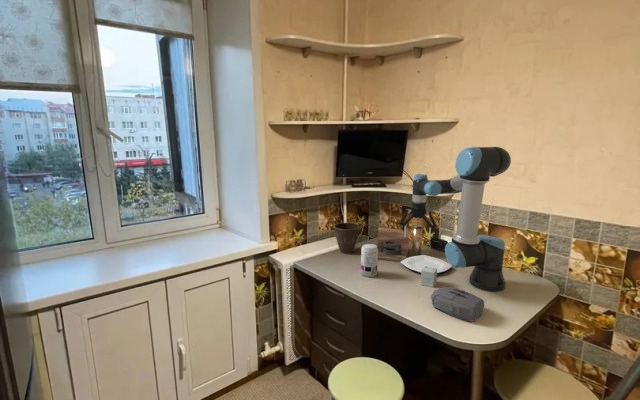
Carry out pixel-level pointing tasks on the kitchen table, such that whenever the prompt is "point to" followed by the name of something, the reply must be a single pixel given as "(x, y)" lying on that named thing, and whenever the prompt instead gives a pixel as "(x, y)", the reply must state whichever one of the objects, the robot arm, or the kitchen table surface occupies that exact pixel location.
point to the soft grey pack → (458, 303)
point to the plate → (425, 263)
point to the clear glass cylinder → (416, 240)
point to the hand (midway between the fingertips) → (417, 237)
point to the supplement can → (369, 260)
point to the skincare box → (428, 276)
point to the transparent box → (392, 244)
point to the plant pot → (346, 236)
